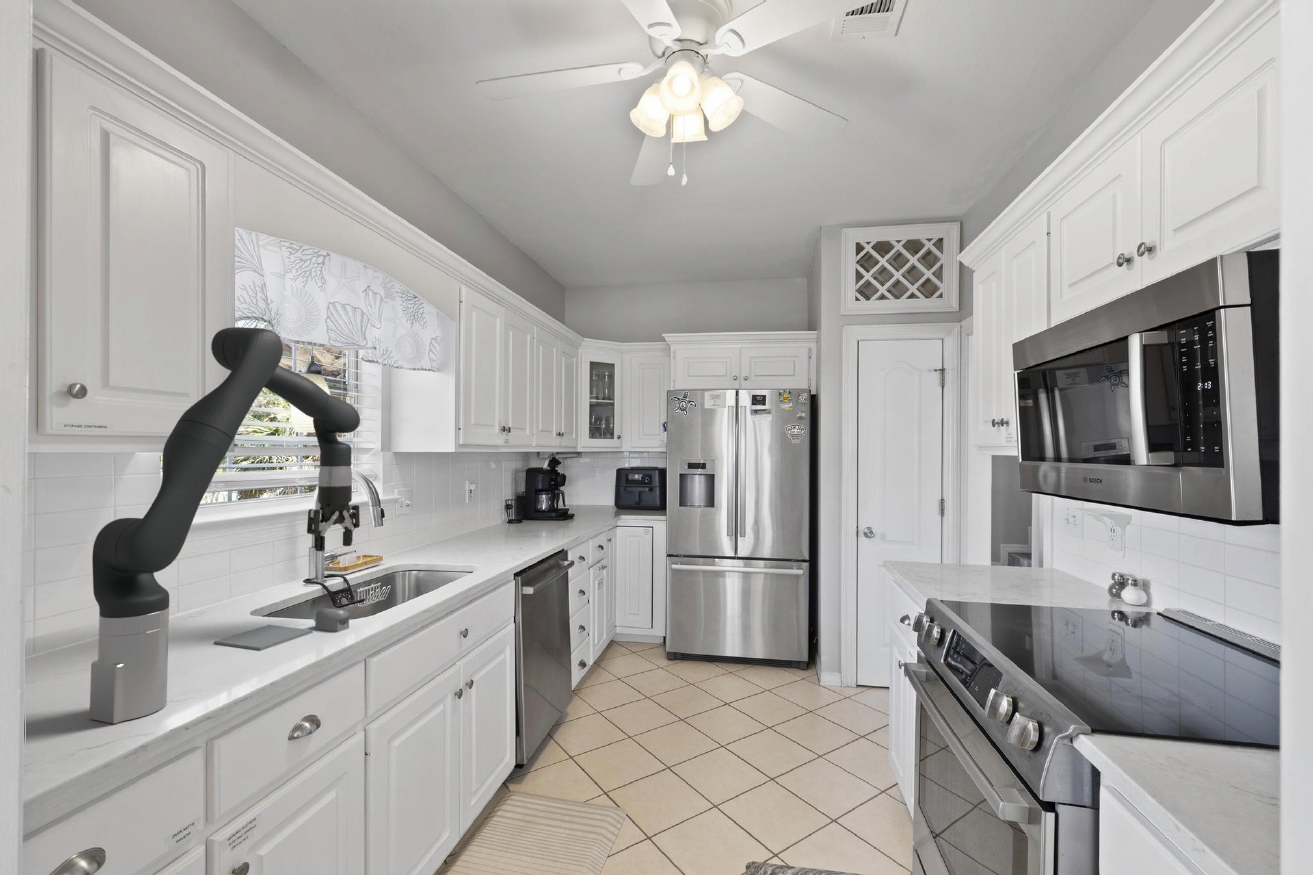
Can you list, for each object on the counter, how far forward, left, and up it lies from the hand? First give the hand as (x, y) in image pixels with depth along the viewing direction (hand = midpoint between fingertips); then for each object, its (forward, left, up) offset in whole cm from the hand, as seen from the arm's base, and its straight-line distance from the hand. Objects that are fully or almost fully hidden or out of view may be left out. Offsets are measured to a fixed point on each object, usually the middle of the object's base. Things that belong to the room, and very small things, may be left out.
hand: (334, 548), depth 152 cm
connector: (0, 0, -20) cm, 20 cm away
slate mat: (-11, +9, -20) cm, 25 cm away
